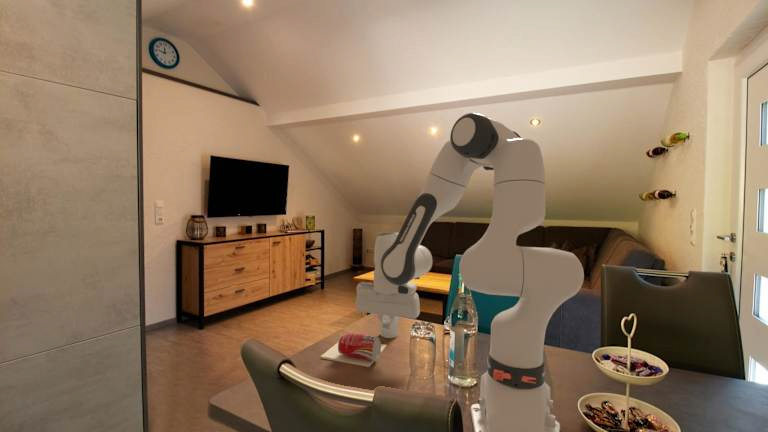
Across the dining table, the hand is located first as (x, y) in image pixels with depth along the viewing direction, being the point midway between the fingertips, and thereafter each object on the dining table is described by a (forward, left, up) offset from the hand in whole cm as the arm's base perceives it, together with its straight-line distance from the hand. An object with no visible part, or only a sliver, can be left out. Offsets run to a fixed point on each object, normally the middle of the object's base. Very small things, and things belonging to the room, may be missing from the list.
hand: (386, 328), depth 111 cm
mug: (+20, +5, -9) cm, 23 cm away
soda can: (-4, +1, -5) cm, 7 cm away
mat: (0, +10, -9) cm, 14 cm away
